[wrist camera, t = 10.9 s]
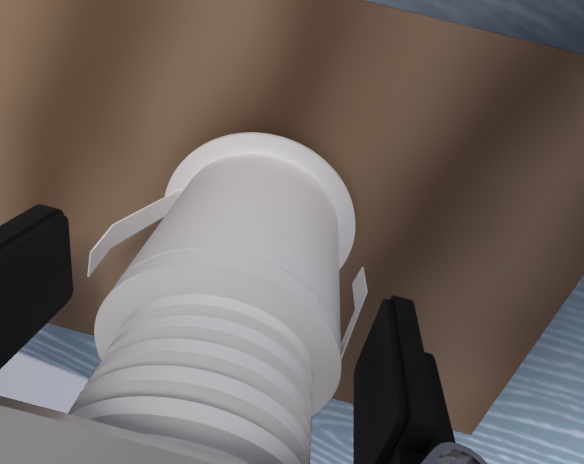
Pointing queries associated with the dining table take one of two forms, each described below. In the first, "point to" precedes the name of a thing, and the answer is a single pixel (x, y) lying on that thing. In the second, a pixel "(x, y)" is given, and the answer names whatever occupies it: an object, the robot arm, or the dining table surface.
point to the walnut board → (326, 143)
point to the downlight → (229, 304)
